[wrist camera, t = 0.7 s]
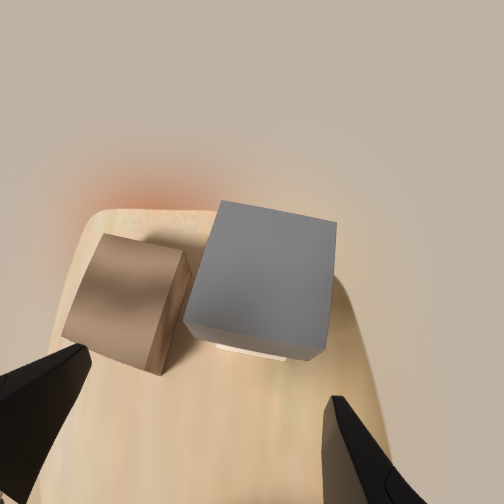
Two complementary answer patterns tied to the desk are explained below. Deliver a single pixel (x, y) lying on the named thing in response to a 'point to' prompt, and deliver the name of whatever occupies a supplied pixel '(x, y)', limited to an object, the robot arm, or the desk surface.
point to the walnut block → (129, 302)
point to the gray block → (264, 282)
